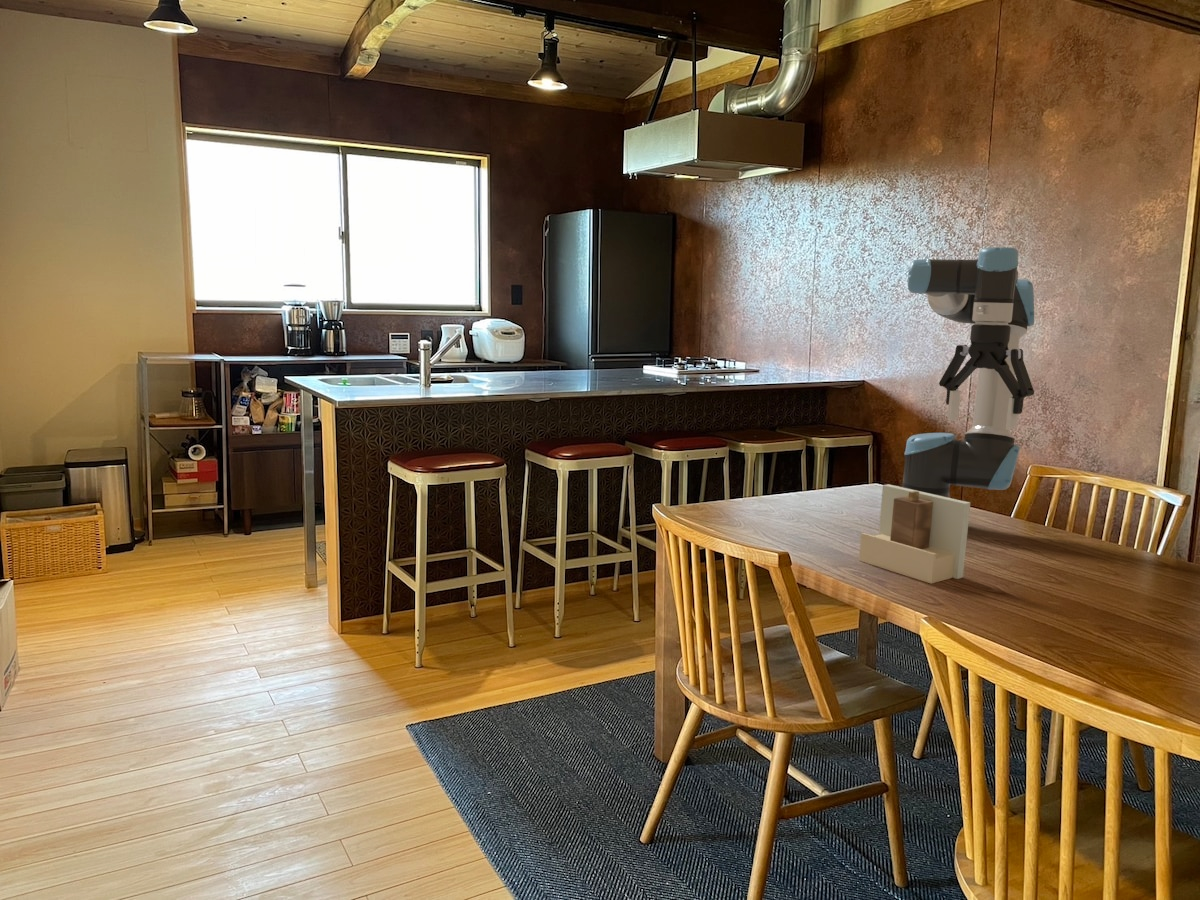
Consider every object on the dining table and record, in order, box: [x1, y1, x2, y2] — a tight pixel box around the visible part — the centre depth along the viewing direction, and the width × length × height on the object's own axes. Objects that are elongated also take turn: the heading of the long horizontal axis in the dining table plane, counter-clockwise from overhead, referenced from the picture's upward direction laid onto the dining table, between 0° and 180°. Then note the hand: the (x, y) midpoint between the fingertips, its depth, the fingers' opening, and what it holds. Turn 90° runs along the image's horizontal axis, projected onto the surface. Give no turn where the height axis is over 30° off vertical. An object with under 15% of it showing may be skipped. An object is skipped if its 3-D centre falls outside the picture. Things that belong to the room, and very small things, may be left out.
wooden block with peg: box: [890, 491, 933, 549], centre depth 183 cm, size 5×6×12 cm
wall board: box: [858, 483, 971, 585], centre depth 183 cm, size 10×20×16 cm, turn 35°
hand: (980, 424), depth 183 cm, fingers open, 13 cm apart
